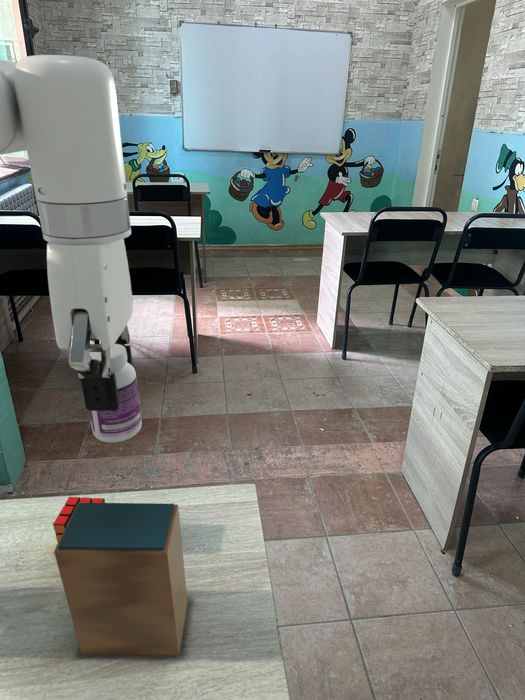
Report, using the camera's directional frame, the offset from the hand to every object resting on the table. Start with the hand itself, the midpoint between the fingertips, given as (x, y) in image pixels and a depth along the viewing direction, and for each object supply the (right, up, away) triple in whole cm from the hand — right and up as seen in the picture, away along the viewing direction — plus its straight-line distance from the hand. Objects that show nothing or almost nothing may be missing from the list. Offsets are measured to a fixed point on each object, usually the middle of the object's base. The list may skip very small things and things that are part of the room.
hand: (111, 391), depth 51 cm
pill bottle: (0, -5, +2) cm, 5 cm away
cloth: (0, -15, +3) cm, 16 cm away
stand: (0, -32, +11) cm, 33 cm away
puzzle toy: (-12, -25, +24) cm, 37 cm away
